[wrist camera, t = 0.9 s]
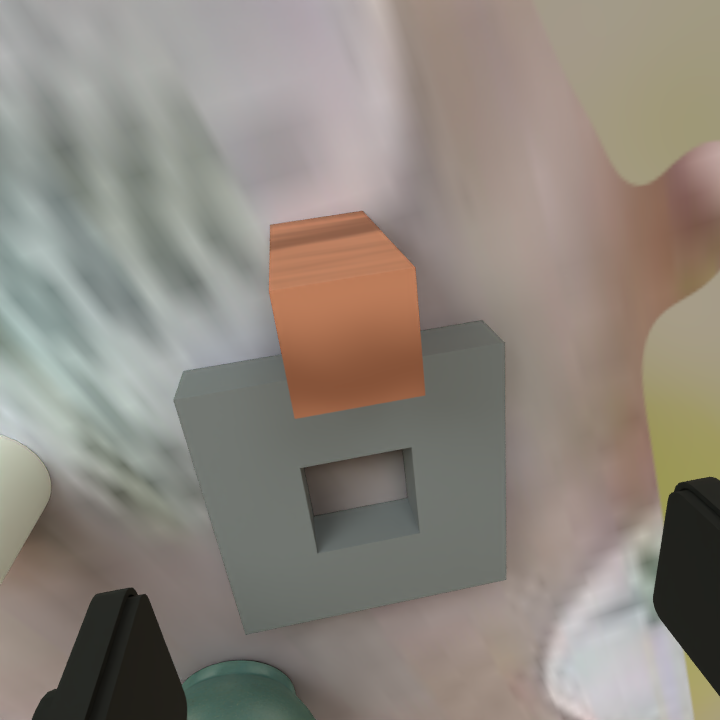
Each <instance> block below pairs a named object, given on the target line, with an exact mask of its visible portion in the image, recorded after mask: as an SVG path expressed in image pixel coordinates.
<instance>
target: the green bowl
mask: <svg viewBox="0 0 720 720" xmlns="http://www.w3.org/2000/svg"><path fill="white" fill-rule="evenodd" d="M182 688H183V690H184V693H185V696H186V701H187V720H316V719H315V718H314V716H313V715H312V714H311V712H310V711H309V710H308V708H307V707H306V706H305V705H304V704H303V702H302V701H301V700H300V699H299V698H298V697H297V696H296V693H295V689H294V686H293V684H292V682H291V681H290V680H289V678H288V677H287V676H286V675H285V674H283V673H282V672H281V671H280V670H278V669H276V668H274V667H272V666H269V665H267V664H263V663H259V662H254V661H244V660H238V661H227V662H222V663H218V664H214V665H211V666H208V667H206V668H204V669H202V670H200V671H198V672H196V673H195V674H193V675H192V676H190V677H189V678H188V679H187V680H186V681H185V682H184V683H183V684H182Z"/></svg>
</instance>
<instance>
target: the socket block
mask: <svg viewBox="0 0 720 720" xmlns="http://www.w3.org/2000/svg"><path fill="white" fill-rule="evenodd" d="M420 333H421V346H422V358H423V371H424V383H425V396H419V397H414V398H408V399H403V400H397V401H392V402H386V403H381V404H375V405H370V406H364V407H358V408H353V409H347V410H342V411H336V412H331V413H325V414H320V415H314V416H309V417H303V418H298V419H295V418H294V413H293V408H292V403H291V398H290V393H289V388H288V383H287V378H286V373H285V368H284V363H283V358H282V355H276V356H270V357H265V358H259V359H253V360H247V361H241V362H235V363H229V364H224V365H218V366H212V367H206V368H200V369H194V370H188V371H183V374H182V377H181V380H180V383H179V386H178V388H177V391H176V394H175V397H174V403H175V406H176V410H177V413H178V416H179V419H180V423H181V426H182V429H183V432H184V436H185V439H186V442H187V445H188V449H189V452H190V455H191V458H192V462H193V465H194V468H195V471H196V475H197V478H198V481H199V484H200V488H201V491H202V494H203V497H204V501H205V504H206V507H207V510H208V514H209V517H210V520H211V523H212V527H213V530H214V533H215V536H216V540H217V543H218V546H219V549H220V553H221V556H222V559H223V562H224V566H225V569H226V572H227V575H228V579H229V582H230V585H231V588H232V592H233V595H234V598H235V601H236V605H237V608H238V611H239V614H240V618H241V621H242V624H243V627H244V631H245V634H246V635H247V634H252V633H257V632H261V631H266V630H271V629H276V628H280V627H285V626H290V625H295V624H299V623H304V622H309V621H313V620H318V619H323V618H328V617H332V616H337V615H342V614H347V613H351V612H356V611H361V610H366V609H370V608H375V607H380V606H385V605H389V604H394V603H399V602H403V601H408V600H413V599H418V598H422V597H427V596H432V595H437V594H441V593H446V592H451V591H456V590H460V589H465V588H470V587H474V586H479V585H484V584H489V583H493V582H498V581H503V580H506V468H505V342H504V341H503V340H502V339H501V338H500V337H499V336H498V335H497V334H496V333H495V332H494V331H493V330H492V329H491V328H490V327H489V326H488V325H487V324H485V323H484V322H483V321H476V322H470V323H464V324H458V325H452V326H447V327H441V328H435V329H429V330H423V331H420ZM400 449H403V459H404V468H405V478H406V487H407V497H408V498H405V499H400V500H395V501H390V502H385V503H380V504H375V505H370V506H364V507H359V508H354V509H349V510H344V511H339V512H334V513H329V514H324V515H318V516H314V515H313V510H312V505H311V500H310V496H309V491H308V486H307V481H306V476H305V471H304V467H309V466H315V465H320V464H325V463H330V462H336V461H341V460H346V459H352V458H357V457H362V456H368V455H373V454H378V453H384V452H389V451H394V450H400Z"/></svg>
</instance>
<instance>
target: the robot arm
mask: <svg viewBox="0 0 720 720" xmlns="http://www.w3.org/2000/svg"><path fill="white" fill-rule="evenodd" d="M653 603H654V607H655V610H656V612H657V614H658V616H659V618H660V619H661V621H662V622H663V623H664V625H665V626H666V627H667V629H668V630H669V631H670V632H671V634H672V635H673V636H674V638H675V639H676V640H677V642H678V643H679V644H680V645H681V647H682V648H683V649H684V651H685V652H686V653H687V654H688V655H689V657H690V658H691V660H692V661H693V662H694V664H695V665H696V666H697V667H698V669H699V670H700V671H701V673H702V674H703V675H704V677H705V678H706V679H707V680H708V682H709V683H710V684H711V686H712V687H713V688H714V689H715V691H716V692H717V693H718V695H719V696H720V480H718V479H716V478H713V477H707V478H701V479H696V480H691V481H686V482H681V483H678V485H677V486H676V487H675V490H674V492H673V493H671V494H670V495H669V498H668V503H667V510H666V516H665V522H664V529H663V535H662V542H661V548H660V555H659V562H658V568H657V575H656V581H655V588H654V594H653ZM32 720H187V701H186V696H185V693H184V690H183V688H182V685H181V682H180V680H179V677H178V674H177V672H176V669H175V667H174V664H173V661H172V659H171V656H170V653H169V651H168V648H167V646H166V643H165V640H164V638H163V635H162V632H161V630H160V627H159V624H158V622H157V619H156V617H155V614H154V611H153V609H152V606H151V603H150V601H149V598H148V597H147V595H146V594H142V595H138V594H137V592H136V590H135V589H134V588H125V589H120V590H115V591H110V592H104V593H99V594H96V595H95V596H94V597H93V599H92V601H91V603H90V605H89V608H88V610H87V613H86V616H85V618H84V621H83V623H82V626H81V628H80V631H79V634H78V636H77V639H76V641H75V644H74V647H73V649H72V652H71V654H70V657H69V659H68V662H67V665H66V667H65V670H64V672H63V675H62V678H61V680H60V683H59V685H58V688H57V689H54V690H52V691H49V692H47V694H46V695H45V696H44V697H43V698H42V699H41V701H40V703H39V705H38V707H37V709H36V711H35V713H34V715H33V718H32Z"/></svg>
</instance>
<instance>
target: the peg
mask: <svg viewBox="0 0 720 720" xmlns="http://www.w3.org/2000/svg"><path fill="white" fill-rule="evenodd" d="M269 294H270V299H271V304H272V309H273V314H274V319H275V324H276V329H277V334H278V339H279V344H280V349H281V354H282V358H283V363H284V368H285V373H286V378H287V383H288V388H289V393H290V398H291V403H292V408H293V413H294V418H295V419H298V418H303V417H309V416H314V415H320V414H325V413H331V412H336V411H342V410H347V409H353V408H358V407H364V406H370V405H375V404H381V403H386V402H392V401H397V400H403V399H408V398H414V397H419V396H425V383H424V371H423V358H422V346H421V333H420V320H419V308H418V295H417V283H416V270H415V267H414V266H413V265H412V264H411V262H410V261H409V260H408V259H407V258H406V257H405V256H404V255H403V254H402V253H401V252H400V251H399V250H398V248H397V247H396V246H395V245H394V244H393V243H392V242H391V241H390V240H389V239H388V238H387V237H386V236H385V235H384V233H383V232H382V231H381V230H380V229H379V228H378V227H377V226H376V225H375V224H374V223H373V222H372V221H371V219H370V218H369V217H368V216H367V215H366V214H365V213H364V212H363V211H359V212H352V213H346V214H339V215H332V216H326V217H319V218H312V219H306V220H299V221H292V222H286V223H279V224H273V225H270V263H269Z"/></svg>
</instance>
